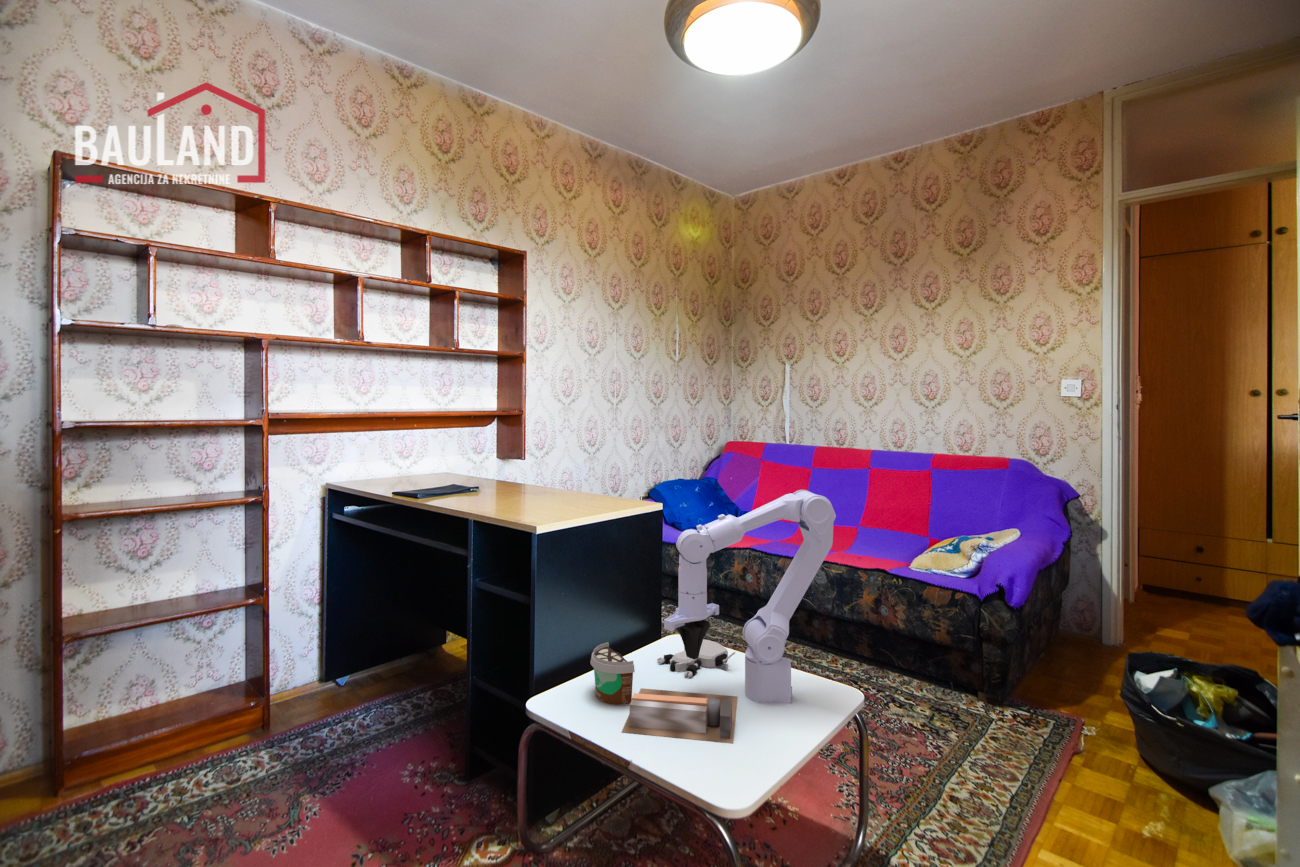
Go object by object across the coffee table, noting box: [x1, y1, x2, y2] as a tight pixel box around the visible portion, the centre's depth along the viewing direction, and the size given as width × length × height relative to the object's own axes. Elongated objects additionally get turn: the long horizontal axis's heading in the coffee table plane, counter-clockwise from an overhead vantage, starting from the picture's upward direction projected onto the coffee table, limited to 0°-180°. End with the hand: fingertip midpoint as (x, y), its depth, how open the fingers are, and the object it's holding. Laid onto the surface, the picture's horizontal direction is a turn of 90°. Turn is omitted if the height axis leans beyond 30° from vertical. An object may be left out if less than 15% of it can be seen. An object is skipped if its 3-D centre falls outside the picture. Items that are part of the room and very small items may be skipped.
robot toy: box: [656, 639, 736, 678], centre depth 141 cm, size 12×4×15 cm
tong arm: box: [632, 692, 720, 726], centre depth 114 cm, size 16×3×4 cm, turn 81°
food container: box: [589, 642, 636, 706], centre depth 124 cm, size 12×6×10 cm, turn 29°
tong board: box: [620, 688, 739, 745], centre depth 117 cm, size 20×18×5 cm
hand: (692, 657), depth 124 cm, fingers closed
